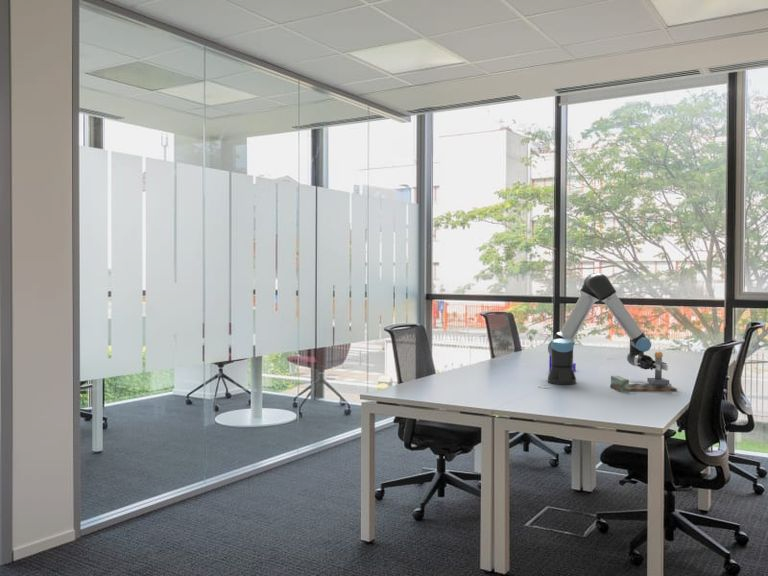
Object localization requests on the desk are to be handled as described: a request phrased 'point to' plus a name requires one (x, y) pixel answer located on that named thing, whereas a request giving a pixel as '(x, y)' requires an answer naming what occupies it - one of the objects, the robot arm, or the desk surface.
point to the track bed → (636, 385)
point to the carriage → (658, 372)
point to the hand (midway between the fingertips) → (663, 367)
